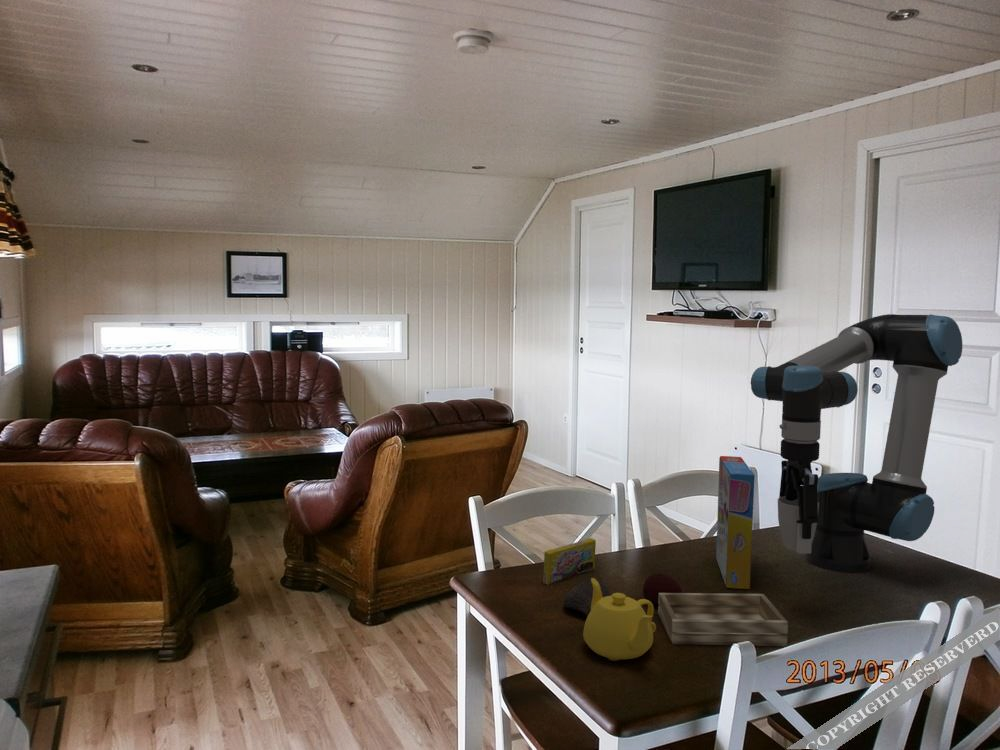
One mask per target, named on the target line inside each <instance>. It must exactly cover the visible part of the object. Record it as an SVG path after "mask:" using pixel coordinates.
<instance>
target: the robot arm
mask: <svg viewBox="0 0 1000 750" xmlns="http://www.w3.org/2000/svg"><path fill="white" fill-rule="evenodd" d="M962 353H963V336H962V332H961V330H960V327H959V325H958V323H957V322H956V321H955V320H954V319H953V318H951V317H949V316H946V315H936V314H895V313H894V314H893V313H891V314H889V313H888V314H883V315H877V316H873V317H870V318H868V319H864V320H862V321H859V322H856V323H854V324H852V325H850V326H848V327H846V328H843V329H842V330H841V331H840V332H839V334H838V336H836V337H834V338H833V339H831V340H829V341H826V342H824V343H822V344H821V345H819V346H817V347H814V348H812V349H810V350H808V351H806V352H805V353H802V354H800V355H798V356H796V357H795V358H793V359H790V360H789V361H787V362H784V363H782V364H780V365H778V366H774V367H772V366H770V365H769V366H759V367H758V368H756V369H755V370H754V371H753V373H752V375H751V378H750V389H751V392H752V394H753V396H755V397H757V398H759V399H763V400H764V399H765V400H767V401H777V402H782V408H781V409H782V413H781V424H779V428H780V429H781V433H780V434H781V438H782V439H781V441H780V457H781V458H783V459H784V460H781V475H780V476H781V477H780V483H779V484H780V485H779V486H780V487H779V495H778V498H780V497H786V500H789V501H794V500H797V498H798V506H799V516H800V520H797V521H796V522H797V523H798V529H797V551H796V554H805V560H806V561H807V562H808V563H810V564H811V565H813V566H815V567H817V568H821V569H825V570H828V571H834V572H839V573H861V572H865V571H867V570H869V569H870V568H871V556H870V552H869V550H868V545H867V543H866V539H865V531H866V532H871V533H873V534H878V535H882V536H885V537H888V538H891V539H892V540H901V541H905V542H914V541H917V540H919V539H921V538H922V537H923V535H925V533H926V532H927V531H929V530H928V529H929V528H930V526H931V524H932V521H933V519H934V515H935V502H934V500H933V498H932V497H931V496H930V495H929V494H927V491H928V486H927V485H926V483H924V480H923V479H922V477H923V476H922V475H923V471H924V470H923V469H924V465H925V458H926V453H927V446H928V443H929V442H928V440H929V436H930V435H929V434H930V429H931V424H932V419H933V414H934V413H933V412H934V406H935V401H936V396H937V395H936V394H937V390H938V386H939V385H938V384H939V380H941V379H942V378H944V377H945V376H947V374H948V370H949V369H948V368H949V367H952V366H955V365H956V364H958V363H959V362H960V359H961V357H962ZM868 361H890V362H892V368H893V370H894V371H895V372H896V374H897V378H896V385H895V392H894V396H893V403H892V407H891V413H890V419H889V420H890V421H889V425H888V431H887V436H886V441H885V449H884V452H883V453H884V454H883V458H882V459H883V460H882V465H881V469H880V471H879V472H878V473H876V474H875V475H873V476H872V483H870V482H868V481H869V479H868V477H867V474H863V473H859V472H832V473H830V472H829V473H825V474H822V475H820V476H819V475H818V474H817V473H816V474H815V473H813V469H812V462H816V461H818V460H819V458H820V448H821V447H820V443H819V440H820V439H821V426H822V425H821V423H822V419H821V418H822V417H821V415H822V410H823V409H832V408H840V407H844V406H847V405H849V404H851V403H853V401H854V400H855V399H856V397H857V395H858V388H859V387H858V383H857V382H856V379H855V378H854V376H853V375H851V374H850V373H848V372H846V371H842V370H844V369H846V368H848V367H849V366H852V365H853V364H857V365H858V364H864V363H866V362H868ZM818 502H819V509H818ZM812 523H817V525H816V530H815V534H814V538H813V541H812Z"/></svg>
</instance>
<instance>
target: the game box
mask: <svg viewBox="0 0 1000 750" xmlns="http://www.w3.org/2000/svg"><path fill="white" fill-rule="evenodd" d="M755 477H756V476H755V473H753V471H752V470H751V468H750V467H749V466H748V465H747V463H746V462H745V460H744V459H743V457H741V456H730V455H729V456H728V455H720V456H719V459H718V487H717V488H718V491H717V492H718V494H717V495H718V496H717V517H716V518H717V522H716V524H717V525H716V554H715V555H716V558H715V559H716V561H717V564H718V568H719V570H720V573H721V576H722V579H723V581H724V582H723V583H724V584H725V588H728V589H736V590H737V589H740V590H750V589H751V567H752V566H751V565H752V548H753V547H752V544H753V542H752V541H753V522H754V499H755V498H754V495H755Z"/></svg>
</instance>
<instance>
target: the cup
mask: <svg viewBox="0 0 1000 750" xmlns="http://www.w3.org/2000/svg"><path fill="white" fill-rule="evenodd" d="M818 509H819V502H818ZM777 520H778V527H779V532H780V538H781V541H782V544H783V547H784V548H785V549H786V550H789V551H793V552H797V529H798V523H797V522H796V521H797V520H800V516H799V506H798V498H797V500H794V501H789V500H786V497H780V498H779V497H778V498H777ZM816 525H817V523H812V541H813V538H814V534H815V530H816Z"/></svg>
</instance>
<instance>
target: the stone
mask: <svg viewBox="0 0 1000 750" xmlns="http://www.w3.org/2000/svg"><path fill="white" fill-rule="evenodd" d="M596 580H597V581H598V583H599V585H600V588H601V592H602V597H606V596H612V594H611V593H610V592H611V591H610V590H609V588H608V587H607V585H606V584H605V583H604V582H602V581H600V580H599V579H596ZM564 597H565V598H564V600H563V606H564V607H565V608H567V609H571V610H574V611H575V610H576V611H578V612H581V613H583V614H585V616H586V618H587V617H588V615H589V613H590V611H591V602H592V597H593V585H592V582H591V578H590V579H585V580H584V581H582V582H580V583H579V584H576V585H575V586H573V587H572V588H571V589H570V590H569V591H568V592H567V594H566V595H565V596H564Z"/></svg>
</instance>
